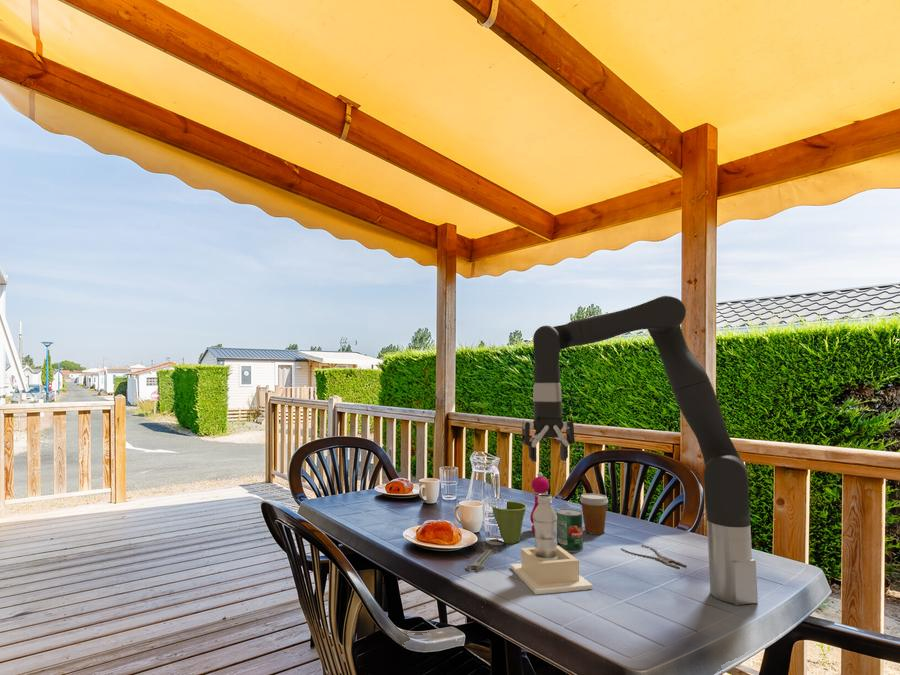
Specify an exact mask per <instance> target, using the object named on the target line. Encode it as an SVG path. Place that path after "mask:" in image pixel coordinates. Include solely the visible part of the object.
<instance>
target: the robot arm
mask: <svg viewBox="0 0 900 675" xmlns="http://www.w3.org/2000/svg"><path fill="white" fill-rule="evenodd" d="M685 306H686V305H685V303H683V301H682V300H681V299H679V298H678V297H676V296H672V295H661V296H659V297H655V298H654V299H651V300H649V301H646V302H643V303H641V304H638V305H635V306H632V307H628V308H624V309H621V310H618V311H613V312H609V313H603V314H599V315H594V316H589V317H585V318H580V319H575V320H572V321H570V322H567V323H565V324H561V325H555V326H550V325H542V326H540V327H538V328H537V329H536V330H535V332H534V334H533V337H532V340H533V357H534V366H533V383H534V384H533V391H532V393H533V395H532V399H533V400H532V401H533V422H527V421H522V427H521V429H522V431H521V444H522V445H525V446H528V459H529V460H530V461H531V462H533V463H535V462H536V463H537V447H536V446H537V444H538V443H539V442H540V441H541V440H542V439H548V438H551V439H556V440H557V442H558V443H559V444H560V446H559V448H560V449H559V452H560V455H559V459H560V461H565V462H566V461H567V459H568V458H569V446H570V445H574V444H575V441H576V440H575V439H576V438H575V427H574V422H573V421H571V420H570V421H569V420H565V421H563V419H562V418H563V417H562V416H563V408H562V407H563V405H562V404H563V403H562V400H563V399H562V387H561V368H560V367H561V366H560V351H561V350H565V349H568V348H571V347H577V346H585V345H591V344H594V343H599V342H602V341H606V340H609V339H612V338H615V337H618V336H621V335H624V334H627V333H631V332H636V331H640V330H647V331H648V333H649V335H650V337H651V339H652V340H653V342H654V345H655V347H656V348H657V351H658V353H659V355H660V359H661V360H662V364H663V366H664V370H665V373H666V376H667V379H668V381H669V384H670V387H671V390H672V393H673V396H674V398H675V400H676V404H677V405H678V407H679V410H680V411H681V414H682V415H683V418H684V419H685V420H686V423H687V424H688V427H689V428H690V429H691V431H692V432H693V434H694V436H695V438H696V441H697V442H698V446H699V448H700V451H701V452H700V453H701V454H702V458H703V463H704V466H705V467H704V469H703V488H704V500H705V501H704V504H705V505H704V506H705V511H706V512H705V513H706V526H707V527H706V528H707V529H706V530H707V548H708V549H707V552H708V572H709V573H708V574H709V591H710V594H711V596H712V597H714V598H715V599H718V600H720V601H722V602H726V603H730V604H732V605H735V606H739V605H740V606H741V605H748V604H749V605H750V604H751V605H752V604H757V603H759V599H758V598H759V597H758V578H757V561H756V560H755V559H753V553H752V534H751V533H752V531H751V529H752V528H751V512H750V511H751V509H750V498H749V496H750V495H749V474H748V473H749V472H748V468H747V466H746V464H745V463H744V461H743V460H742V458H741V457H740V454H739V452H738V451H737V449H736V447H735V445H734V442H733V441H732V439H731V438H730V435H729V432H728V431H727V428H726V424H725V421H724V417H723V412H722V410H721V407H720V403H719V400H718V398H717V395H716V391H715V390H714V389H715V388H714V387H713V384H712V382H711V380H710V377H709V376H708V373H707V371H706V370H705V369H704V367H703V366H702V364H701V363H700V362H699V361H698V359H697V358H696V357H695V355H694V354H693V352H692V351H691V350H690V349H689V348H690V347H688V344H687V342H686V340H685V337H684V336H685V335H684V334H683V330H682V326H681V324H682V323H683V322H684V320H685V318H686V313H687V310H686V309H687V308H686V307H685ZM563 428H564V430H565V435H564V434H563V432H562V429H563ZM532 429H534V433H533V434H532V436H531V433H530V432H531V431H532ZM530 436H531V438H530Z"/></svg>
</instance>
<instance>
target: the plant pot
mask: <svg viewBox="0 0 900 675" xmlns="http://www.w3.org/2000/svg"><path fill="white" fill-rule="evenodd" d="M505 501H506V502H507V509H499V508H496V507H493V506H492V503H490V507H491V508H492V513H493V517H494V516H495V518H494V520H495V519H496V521H497V524H498V527H499V530H500V533H501V534H500V535H501V537H502V538H503V540H504V542H505V543H504V544H511V545H512V544H513V545H514V544H516V543H519V542H520V541H521V535H522V528H523V522H524V516H525V514H526V509H527V508H528V505H527V504H526V503H523V502H518V501H513V500H512V501H511V500H505Z"/></svg>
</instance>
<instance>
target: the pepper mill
mask: <svg viewBox="0 0 900 675" xmlns="http://www.w3.org/2000/svg"><path fill="white" fill-rule="evenodd" d="M531 488H532V490H533V491H532V492H533V495H532V496H534V497H533V498H534V504H533V508H532V510H531V513H530V516H529V518H530V519H529V520H530V522H531V523H532V526H531V532H532V533H534V534H535V529H534V522H533V513H534V511H535V509H536V507H537V506H538V504H539V503H538V502H537V501H538V495H540V494H548V493H549V492H548V490H549V488H550V482H549V480H548V479H547V478H545V477H543V473H542V472H538V473H537V477H534V478H533V479H532V481H531Z"/></svg>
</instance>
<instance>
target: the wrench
mask: <svg viewBox="0 0 900 675" xmlns="http://www.w3.org/2000/svg"><path fill="white" fill-rule="evenodd" d="M482 550H483V551H484V552H483V553H481V555H480V556H479V557H478V558H477V559H476V560H475V562H474V563H471V564H467V565H466V569H467V571H469V572H471V571H472V570H475V573H480V572H483V571H484V566H483V565H484V564H485V562H486V561H487V560H488V559H489V558H490V557H491V556H492V554H496V553H499V547H497V546H494V548H491V546H490V545H487V546H484V547H483V549H482Z"/></svg>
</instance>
